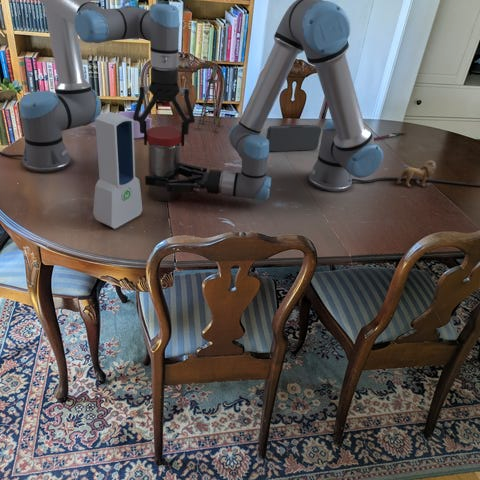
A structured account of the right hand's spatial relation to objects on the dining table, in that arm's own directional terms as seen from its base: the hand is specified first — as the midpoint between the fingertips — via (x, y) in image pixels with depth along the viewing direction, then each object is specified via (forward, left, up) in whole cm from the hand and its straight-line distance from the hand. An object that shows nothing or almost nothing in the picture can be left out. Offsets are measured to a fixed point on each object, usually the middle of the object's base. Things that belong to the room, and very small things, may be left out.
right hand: (149, 173), depth 146 cm
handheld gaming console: (-63, -29, -7) cm, 69 cm away
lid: (-4, +2, +14) cm, 14 cm away
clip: (+1, -53, -7) cm, 53 cm away
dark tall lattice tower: (-35, -56, -7) cm, 67 cm away
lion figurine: (-96, +8, -7) cm, 97 cm away
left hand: (-4, +2, +10) cm, 11 cm away
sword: (-113, -36, -7) cm, 119 cm away
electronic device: (+11, +14, -7) cm, 20 cm away
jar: (-4, +2, -7) cm, 8 cm away
